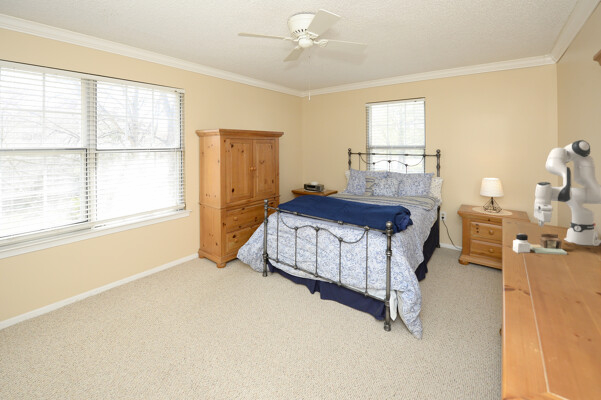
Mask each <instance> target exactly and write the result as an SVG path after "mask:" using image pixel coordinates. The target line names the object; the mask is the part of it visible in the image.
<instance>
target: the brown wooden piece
mask: <svg viewBox="0 0 601 400" xmlns="http://www.w3.org/2000/svg"><path fill="white" fill-rule="evenodd" d="M539 239H540V240H539V245H541V246H542V247H543V248H546V241H556V247H557V248H559V249H562V241H563V240H562V239H560V238H559V234H558V233H540V238H539Z"/></svg>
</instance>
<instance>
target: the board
mask: <svg viewBox="0 0 601 400" xmlns="http://www.w3.org/2000/svg"><path fill="white" fill-rule="evenodd" d="M530 250H532V251H533V252H534V253H535V254H545V255H562V256H563V255H564V256H566V255H568V252H567V251H565V250H564V249H563V248H561V249H559V248H557V247H556V249H553V248H543V247H542V246H541V245H540V244H531V243H530Z"/></svg>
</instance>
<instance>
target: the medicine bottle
mask: <svg viewBox="0 0 601 400" xmlns="http://www.w3.org/2000/svg"><path fill="white" fill-rule="evenodd" d="M528 237H529V236H528V235H527V234H525V233H517V234H516V238H515V240H514V239H513V240H512V251H513V252H515V253H517V254H521V253H530V252H531V248H530V244H531V243H530V241H528Z"/></svg>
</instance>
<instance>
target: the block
mask: <svg viewBox="0 0 601 400" xmlns="http://www.w3.org/2000/svg"><path fill="white" fill-rule="evenodd" d="M546 248H553V249H556V241H546Z"/></svg>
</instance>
